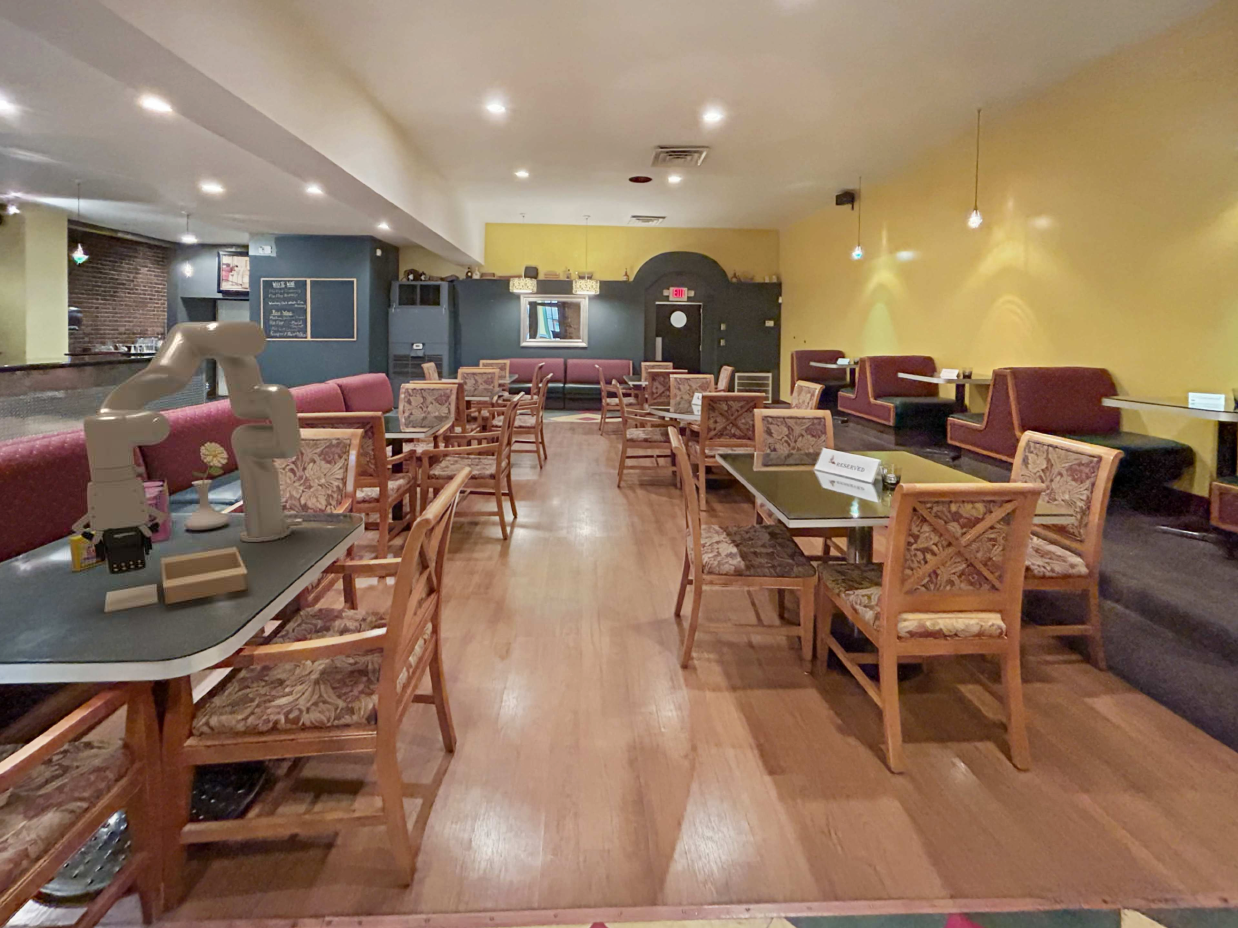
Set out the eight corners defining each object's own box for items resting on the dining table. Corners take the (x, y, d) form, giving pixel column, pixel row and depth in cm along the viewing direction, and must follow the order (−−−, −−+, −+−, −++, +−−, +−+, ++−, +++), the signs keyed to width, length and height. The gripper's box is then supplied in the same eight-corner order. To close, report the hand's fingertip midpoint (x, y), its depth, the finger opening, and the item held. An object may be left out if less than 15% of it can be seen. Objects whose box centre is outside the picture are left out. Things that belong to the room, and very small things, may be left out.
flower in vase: (191, 535, 194) (180, 448, 189) (179, 528, 201) (168, 443, 197) (241, 526, 203) (232, 442, 198) (227, 519, 211) (218, 438, 206)
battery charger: (109, 577, 142) (101, 524, 140) (106, 572, 145) (99, 520, 143) (149, 569, 147) (142, 518, 145) (146, 565, 150) (139, 514, 148)
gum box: (169, 541, 189) (162, 493, 186) (134, 546, 185) (127, 496, 182) (173, 521, 209) (167, 478, 206) (141, 525, 205) (135, 481, 202)
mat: (156, 585, 155) (156, 583, 155) (157, 602, 145) (157, 600, 145) (107, 594, 150) (106, 592, 150) (104, 612, 140) (104, 610, 140)
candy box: (79, 572, 165) (74, 538, 163) (72, 571, 165) (66, 538, 164) (138, 551, 180) (134, 520, 179) (131, 550, 181) (127, 520, 179)
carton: (238, 566, 167) (235, 546, 166) (249, 594, 149) (247, 572, 148) (163, 579, 159) (160, 558, 158) (166, 610, 141) (163, 587, 140)
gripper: (163, 467, 150) (173, 545, 153) (61, 476, 140) (75, 560, 144) (164, 472, 144) (174, 554, 147) (58, 482, 134) (72, 569, 138)
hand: (125, 556), depth 145 cm, fingers closed on battery charger, 7 cm apart
